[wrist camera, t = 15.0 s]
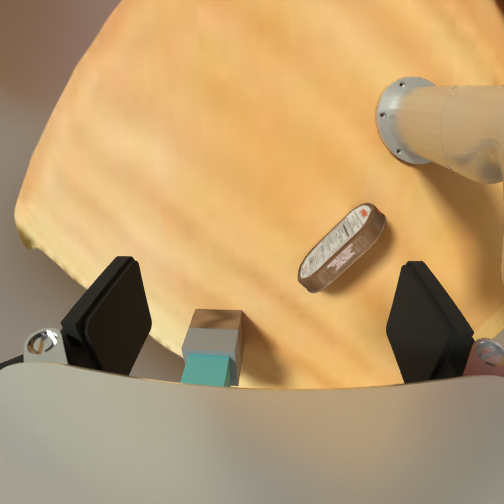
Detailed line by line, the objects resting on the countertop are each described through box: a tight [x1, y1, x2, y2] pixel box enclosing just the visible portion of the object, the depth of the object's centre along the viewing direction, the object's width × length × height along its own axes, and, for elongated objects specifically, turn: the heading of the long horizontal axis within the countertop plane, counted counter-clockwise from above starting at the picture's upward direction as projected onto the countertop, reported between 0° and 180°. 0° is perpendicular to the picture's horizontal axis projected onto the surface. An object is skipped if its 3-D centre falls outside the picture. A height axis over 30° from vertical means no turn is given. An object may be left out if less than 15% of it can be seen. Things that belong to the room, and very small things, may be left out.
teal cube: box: [180, 353, 231, 387], centre depth 43 cm, size 6×6×6 cm
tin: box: [298, 203, 386, 293], centre depth 41 cm, size 15×3×8 cm, turn 140°
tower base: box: [189, 309, 244, 364], centre depth 52 cm, size 8×8×5 cm
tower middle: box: [182, 328, 241, 386], centre depth 48 cm, size 8×8×5 cm
